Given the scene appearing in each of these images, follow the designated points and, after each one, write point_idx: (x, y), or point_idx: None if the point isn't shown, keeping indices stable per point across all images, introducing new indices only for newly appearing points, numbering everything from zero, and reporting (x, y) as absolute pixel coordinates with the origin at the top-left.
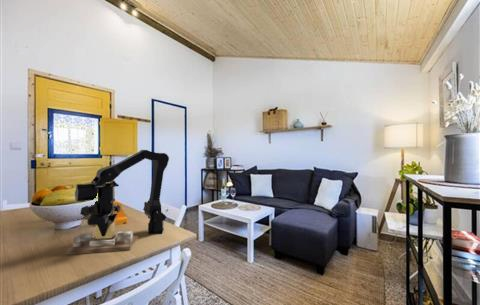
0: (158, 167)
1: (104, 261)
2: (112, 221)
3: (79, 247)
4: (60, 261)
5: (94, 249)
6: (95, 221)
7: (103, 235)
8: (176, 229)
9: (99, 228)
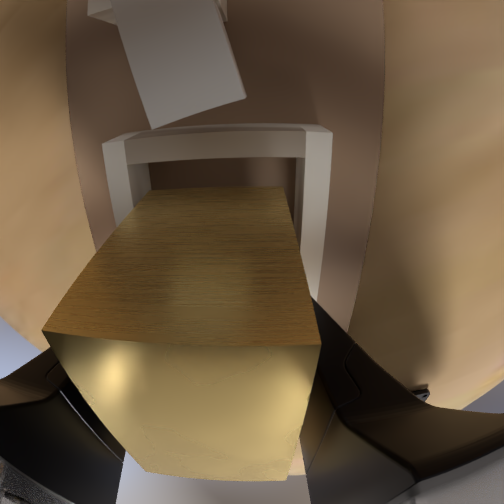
0: None
1: (29, 297)
2: (251, 475)
3: (116, 45)
4: (4, 46)
5: (88, 204)
6: None
7: None
8: None
9: (54, 353)
